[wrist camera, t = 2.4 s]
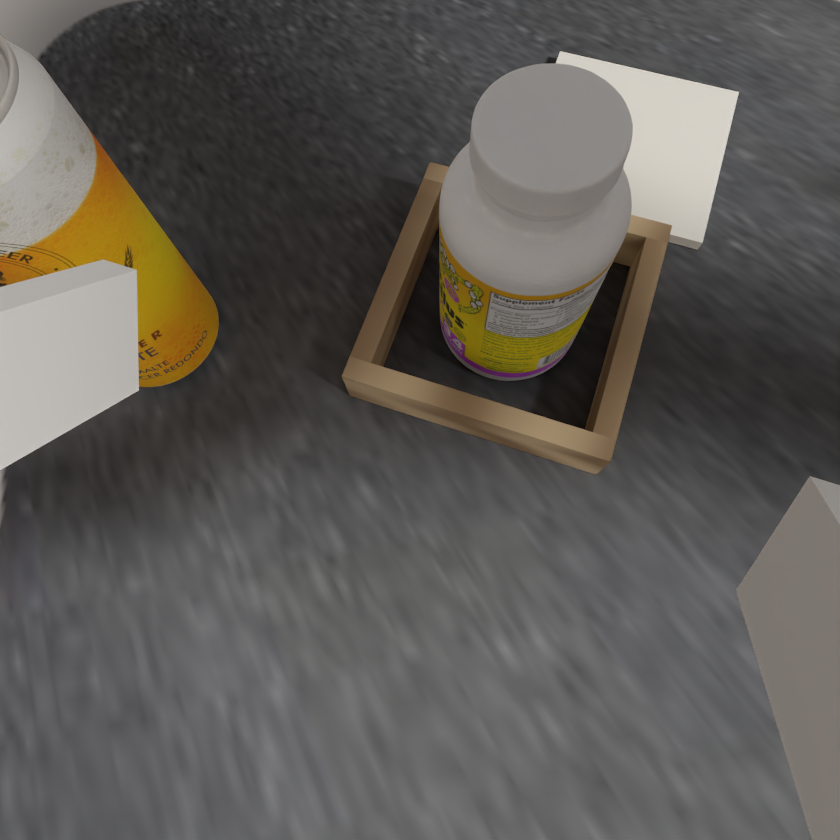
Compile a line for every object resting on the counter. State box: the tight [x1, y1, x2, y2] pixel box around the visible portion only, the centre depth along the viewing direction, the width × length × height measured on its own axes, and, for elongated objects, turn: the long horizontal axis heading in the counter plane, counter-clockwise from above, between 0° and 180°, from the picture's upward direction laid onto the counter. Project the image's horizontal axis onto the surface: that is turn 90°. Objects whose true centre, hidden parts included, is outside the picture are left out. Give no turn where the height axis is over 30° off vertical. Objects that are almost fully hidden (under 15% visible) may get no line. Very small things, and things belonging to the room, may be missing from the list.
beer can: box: [0, 34, 219, 387], centre depth 23 cm, size 6×6×15 cm
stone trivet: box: [556, 51, 739, 250], centre depth 32 cm, size 10×10×1 cm
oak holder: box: [342, 162, 672, 475], centre depth 28 cm, size 12×12×2 cm
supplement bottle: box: [439, 63, 633, 381], centre depth 23 cm, size 7×7×13 cm
